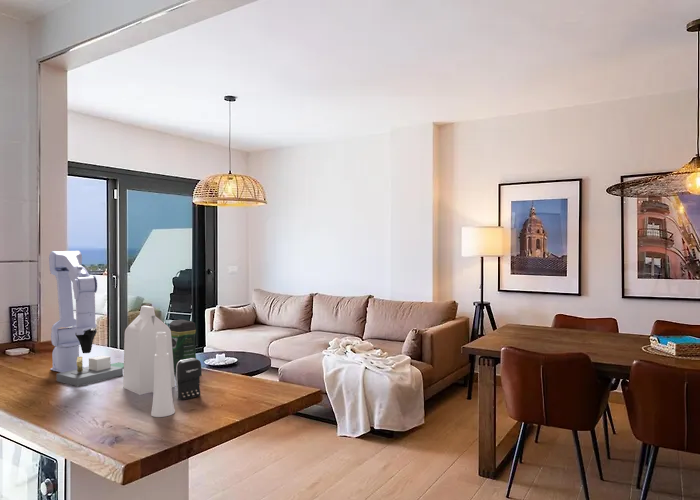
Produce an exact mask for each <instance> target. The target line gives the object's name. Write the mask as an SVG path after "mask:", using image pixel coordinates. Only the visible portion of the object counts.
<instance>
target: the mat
mask: <svg viewBox="0 0 700 500" xmlns="http://www.w3.org/2000/svg"><path fill="white" fill-rule="evenodd" d="M111 366H115V367H120V368H123V369H124V362H120V361H119V362H114V363H111Z"/></svg>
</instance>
